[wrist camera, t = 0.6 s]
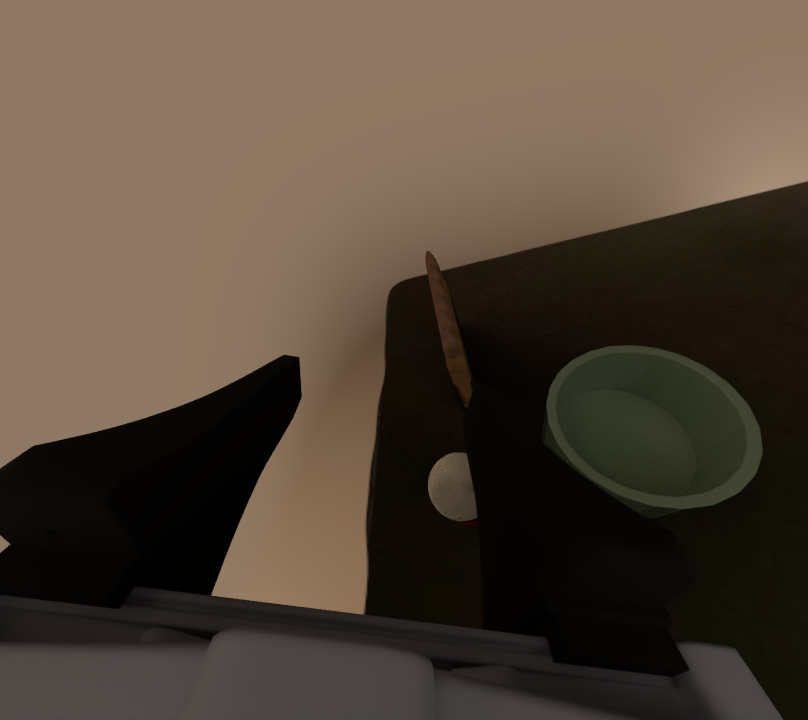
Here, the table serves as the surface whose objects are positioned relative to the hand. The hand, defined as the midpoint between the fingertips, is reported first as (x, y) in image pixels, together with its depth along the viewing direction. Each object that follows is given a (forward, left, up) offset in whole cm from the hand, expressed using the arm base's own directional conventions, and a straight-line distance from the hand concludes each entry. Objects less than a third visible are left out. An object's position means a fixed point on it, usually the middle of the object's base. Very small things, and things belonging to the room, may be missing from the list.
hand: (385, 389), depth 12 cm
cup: (0, -13, -17) cm, 22 cm away
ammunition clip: (+11, -3, -18) cm, 21 cm away
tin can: (-2, -1, -17) cm, 18 cm away
